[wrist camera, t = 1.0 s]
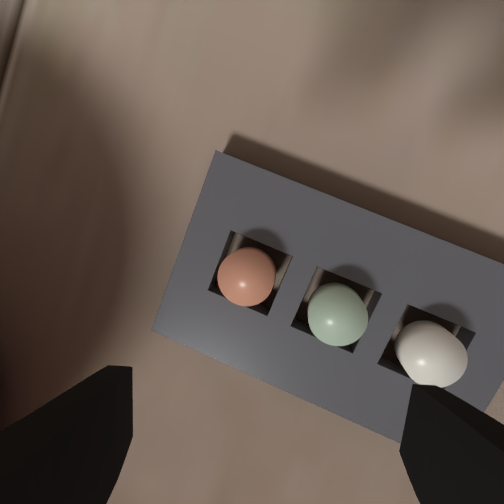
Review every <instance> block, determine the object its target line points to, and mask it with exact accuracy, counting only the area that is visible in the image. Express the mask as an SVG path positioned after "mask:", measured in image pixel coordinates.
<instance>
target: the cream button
mask: <svg viewBox="0 0 504 504" xmlns="http://www.w3.org/2000/svg"><path fill="white" fill-rule="evenodd" d="M394 346H395V353H396V356H397V358H398V360H399V361H400V363H401V364H402V366H403V367H404V369H405V371H406V372H407V374H408V375H409V376H410V378H411V379H412V380H414V381H415V382H416V383H418V384H422V385H436V386H438V387H440V388H442V387H446V386H449V385H451V384H453V383H455V382H456V381H457V380H459V379H460V378H461V376H462V375H463V374H464V372H465V370H466V367H467V363H468V356H467V352H466V349H465V347H464V346H463V344H462V343H461V342H460V341H459V340H458V339H457V338H456V337H455V336H454V335H452V334H451V333H450V332H449V331H448V330H447V329H445V328H444V327H443V326H441V325H440V324H438V323H436V322H433V321H429V320H419V321H415V322H412V323H410V324H408V325H406V326H405V327H403V328H402V329H401V331H400V332H399V333H398V335H397V337H396V340H395V345H394Z"/></svg>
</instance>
